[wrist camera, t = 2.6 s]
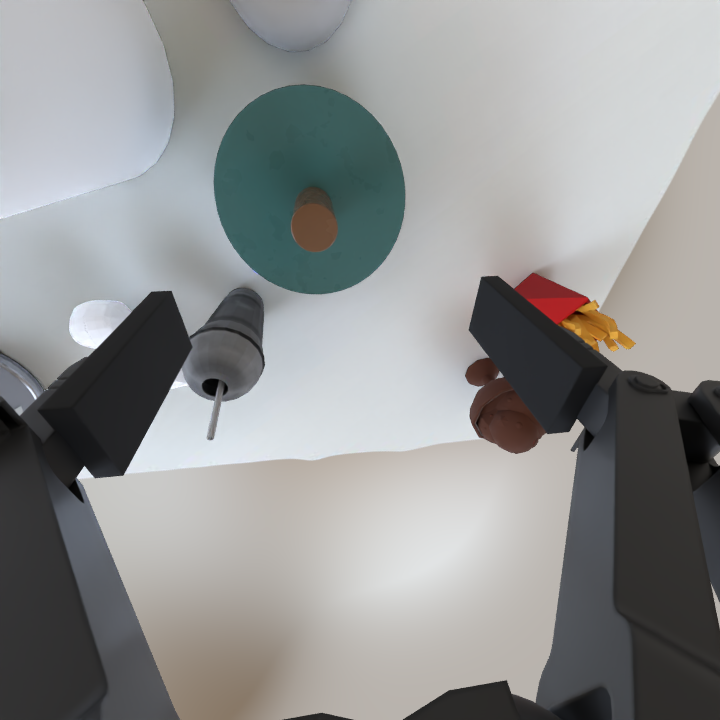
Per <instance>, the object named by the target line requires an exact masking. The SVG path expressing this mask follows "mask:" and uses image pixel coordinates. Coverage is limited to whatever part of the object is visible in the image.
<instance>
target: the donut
mask: <svg viewBox="0 0 720 720" xmlns="http://www.w3.org/2000/svg"><path fill="white" fill-rule="evenodd" d="M230 1H231V3H232V5H233V6H234V8H235V9H236V11H237V12H238V13H239V15H240V16H241V18H242V19H243V20H244V22H245V23H246V25H247V26H248V27H249V29H251V30H252V31H253V32H254V33H256V34H257V35H258V36H259V37H260V38H262V39H263V40H264V41H265V42H266V43H268V44H269V45H272V46H275V47H277V48H280V49H283V50H285V51H288V52H293V51H309V50H311V49H313V48H315V47H317V46H318V45H320V44H322V43H324V42H326V41H327V40H328V39H329V38H330V37H331V35H332V34H333V33H334V32H335V31H336V30H337V28H338V27H339V26H340V25H341V23H342V21H343V19H344V16H345V14H346V12H347V10H348V7H349V5H350V3H351V0H230Z"/></svg>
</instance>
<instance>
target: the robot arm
mask: <svg viewBox="0 0 720 720" xmlns="http://www.w3.org/2000/svg"><path fill="white" fill-rule="evenodd" d="M469 331H470V332H471V334H472V335H473V336H474V338H475V339H476V340H477V342H478V343H479V344H480V346H481V347H482V348H483V350H484V351H485V352H486V354H487V355H488V356H489V358H490V359H491V360H492V361H493V363H494V364H495V365H496V367H497V368H498V369H499V371H500V372H501V373H502V375H503V376H504V377H505V379H506V380H507V381H508V383H509V384H510V385H511V387H512V388H513V389H514V390H515V392H516V393H517V394H518V396H519V397H520V398H521V400H522V401H523V402H524V404H525V405H526V406H527V408H528V409H529V410H530V412H531V413H532V414H533V415H534V417H535V418H536V419H537V421H538V422H539V423H540V425H541V426H542V427H543V429H544V430H545V431H546V433H547V434H552V433H563V432H569V431H570V430H571V428H572V426H573V425H574V423H575V421H576V419H578V420H579V421H580V422H581V423H582V424H583V426H584V429H583V431H582V432H581V434H580V436H579V437H578V439H577V440H576V442H575V443H574V445H573V447H572V449H571V451H573V452H574V451H575V450H576V448H578V454H577V462H576V469H575V476H574V484H573V491H572V500H571V507H570V515H569V522H568V530H567V538H566V545H565V553H564V561H563V568H562V575H561V583H560V591H559V598H558V606H557V614H556V622H555V629H554V637H553V644H552V649H551V653H550V656H549V659H548V661H547V663H546V666H545V668H544V670H543V672H542V675H541V679H540V682H539V687H538V692H537V697H536V703H534V702H533V701H530V700H528V699H525V698H522V697H520V696H517V695H513V694H511V691H510V688H509V686H508V683H507V681H500V682H494V683H489V684H484V685H477V686H472V687H466V688H460V689H455V690H449V691H447V692H446V693H444V694H443V695H441V696H439V697H438V698H436V699H435V700H433V701H432V702H430V703H429V704H427V705H425V706H424V707H422V708H420V709H419V710H417V711H416V712H414V713H413V714H411V715H410V716H408V717H406V718H405V719H403V720H720V628H719V623H718V618H717V613H716V608H715V603H714V598H713V593H712V588H711V584H712V586H713V588H714V591H715V593H716V595H717V597H718V599H719V602H720V466H718V464H717V463H716V461H715V460H714V458H713V457H714V456H716V455H717V454H718V453H719V452H720V381H711V380H707V381H703V382H701V383H700V384H699V386H698V387H697V388H696V389H695V390H694V392H693V393H688V392H679V391H672V390H671V389H670V387H669V386H667V385H666V384H665V383H664V382H663V381H661V380H659V379H657V378H655V377H653V376H651V375H648V374H645V373H642V372H637V371H622V370H620V369H619V368H618V367H617V366H616V365H614V364H613V363H612V362H611V361H609V360H608V359H607V358H606V357H604V356H603V355H602V354H600V353H599V352H598V351H597V350H593V347H592V346H590V345H589V344H588V343H585V341H584V340H583V339H582V338H580V337H579V336H578V335H577V334H575V333H574V332H572V331H570V330H567V329H565V328H563V327H561V326H558V325H557V324H556V323H555V322H553V321H552V320H551V319H550V318H549V317H547V316H546V315H545V314H544V313H542V312H541V311H540V310H539V309H538V308H536V307H535V306H534V305H533V304H531V303H530V302H529V301H528V300H527V299H525V298H524V297H523V296H522V295H520V294H519V293H518V292H517V291H516V290H514V289H513V288H512V287H511V286H509V285H508V284H507V283H506V282H505V281H503V280H502V279H501V278H500V277H498V276H487V277H481V281H480V285H479V289H478V293H477V297H476V301H475V306H474V310H473V314H472V318H471V322H470V326H469ZM192 348H193V347H192V344H191V341H190V339H189V336H188V333H187V331H186V328H185V326H184V323H183V320H182V318H181V315H180V312H179V310H178V307H177V304H176V302H175V299H174V296H173V294H172V291H156V292H151V293H150V294H149V295H148V296H147V297H146V298H145V299H144V300H143V301H142V302H141V303H140V304H139V305H138V306H137V307H136V308H135V309H134V310H133V311H132V312H131V313H130V314H129V315H128V316H127V318H126V319H125V320H124V321H123V322H122V323H121V324H120V325H119V326H118V327H117V328H116V329H115V330H114V331H113V332H112V333H111V334H110V335H109V336H108V337H107V338H106V339H105V340H104V341H103V342H102V343H101V344H100V345H99V346H98V348H97V349H96V350H95V351H94V352H93V353H92V354H91V355H90V356H89V357H84V358H83V359H81V360H80V361H78V362H76V363H75V364H73V365H71V366H70V367H68V368H67V369H66V370H65V371H64V372H63V373H62V374H61V375H60V376H59V377H58V378H57V379H58V380H55V381H54V382H53V383H52V384H51V385H50V386H49V387H48V390H45V391H43V389H42V387H41V385H40V384H39V383H38V381H37V380H36V379H35V378H34V377H33V376H32V375H31V374H30V373H29V372H28V371H27V370H26V369H25V368H23V367H22V366H21V365H19V364H18V363H16V362H15V361H13V360H12V359H10V358H8V357H7V356H5V355H3V354H1V353H0V720H180V718H179V717H178V715H177V713H176V711H175V709H174V707H173V704H172V702H171V699H170V697H169V694H168V692H167V690H166V687H165V685H164V682H163V680H162V677H161V675H160V672H159V670H158V668H157V665H156V663H155V660H154V658H153V655H152V653H151V651H150V648H149V646H148V643H147V641H146V638H145V636H144V633H143V631H142V629H141V626H140V624H139V621H138V619H137V616H136V614H135V611H134V609H133V607H132V604H131V602H130V600H129V597H128V594H127V592H126V589H125V587H124V585H123V582H122V580H121V577H120V575H119V572H118V570H117V568H116V565H115V563H114V560H113V558H112V555H111V553H110V550H109V548H108V546H107V543H106V541H105V538H104V536H103V533H102V531H101V529H100V526H99V524H98V521H97V519H96V516H95V514H94V511H93V509H92V506H91V504H90V502H89V499H88V497H87V494H86V492H85V489H84V487H83V485H82V484H81V483H80V481H78V479H77V478H76V477H77V476H78V474H79V473H80V471H81V470H82V468H83V467H84V466H85V467H86V468H87V469H88V471H89V472H90V473H91V474H92V475H93V476H94V478H102V477H113V476H123V475H124V473H125V472H126V470H127V468H128V466H129V464H130V462H131V460H132V459H133V457H134V455H135V453H136V451H137V449H138V447H139V446H140V444H141V442H142V440H143V438H144V436H145V435H146V433H147V431H148V429H149V427H150V425H151V423H152V422H153V420H154V418H155V416H156V414H157V412H158V410H159V409H160V407H161V405H162V403H163V401H164V399H165V398H166V396H167V394H168V392H169V390H170V388H171V386H172V385H173V383H174V381H175V379H176V377H177V375H178V373H179V372H180V370H181V368H182V366H183V364H184V362H185V360H186V359H187V357H188V355H189V353H190V351H191V349H192ZM284 720H352V719H348V718H343V717H338V716H334V715H329V714H325V713H319V714H312V715H307V716H301V717H296V718H290V719H284Z"/></svg>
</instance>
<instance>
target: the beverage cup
mask: <svg viewBox="0 0 720 720" xmlns="http://www.w3.org/2000/svg"><path fill="white" fill-rule="evenodd" d="M263 323H264V304H263V301H262V299H261V298H260V296H259V295H258V294H257V293H255V292H254V291H252V290H249V289H246V288H239V289H235V290H233V291H231V292H230V293H229V294H228V296H226V297H225V298H224V300H223V301H222V302H221V304H220V305H219V306H218V308H217V309H216V310H215V312H214V313H213V314H212V316H211V317H210V318H209V320H208V321H207V322H206V324H205V325H204V326H203V327H201V328H200V329H199V330H198V331H197V332H195V334H193V335H191V336H190V337H189V339H190V341H191V344H192V347H193V348H192V349H191V351H190V353H189V355H188V357H187V359H186V360H185V362H184V364H183V366H182V372H183V375H184V379H185V381H186V382H187V384H188V385H189V387H190V388H191V389H192V390H193V391H194V392H195V393H197V394H198V395H199V396H201V397H204V398H206V399H208V400H213V401H214V406H213V411H212V415H211V420H210V425H209V429H208V434H207V440H213V439H214V436H215V431H216V426H217V421H218V416H219V411H220V406H221V401H229V400H234V399H237V398H239V397H241V396H243V395H244V394H246V393H248V392H249V391H250V390H251V389H252V387H253V386H254V385H255V384H256V383H257V381H258V380H259V377H260V376H261V374H262V372H263V369H264V366H265V362H264V355H263V349H262V338H263Z"/></svg>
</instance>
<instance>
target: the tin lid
mask: <svg viewBox="0 0 720 720" xmlns="http://www.w3.org/2000/svg"><path fill="white" fill-rule="evenodd" d="M214 195H215V201H216V207H217V211H218V215H219V218H220V221H221V224H222V226H223V229H224V231H225V233H226V235H227V237H228V239H229V241H230V242H231V244H232V246H233V247H234V249H235V250H236V251H237V253H238V254H239V255H240V257H241V258H242V259H243V260H244V261H245V262H246V263H247V264H248V265H249V266H250V267H251V268H252V269H253V270H254V271H255V272H257V273H258V274H259V275H261V276H262V277H264V278H265V279H267V280H268V281H270V282H272V283H274V284H276V285H277V286H280V287H282V288H285V289H288V290H291V291H295V292H299V293H306V294H327V293H333V292H337V291H341V290H344V289H347V288H349V287H352V286H354V285H356V284H357V283H359V282H361V281H362V280H364V279H365V278H367V277H368V276H370V275H371V274H372V273H373V272H374V271H375V270H376V269H377V268H378V267H379V266H380V265H381V264H382V263H383V261H384V260H385V259H386V257H387V256H388V254H389V253H390V252H391V250H392V248H393V246H394V244H395V242H396V240H397V237H398V235H399V232H400V229H401V225H402V221H403V217H404V210H405V184H404V176H403V172H402V167H401V163H400V161H399V158H398V155H397V152H396V150H395V148H394V146H393V144H392V142H391V140H390V138H389V136H388V135H387V133H386V132H385V130H384V129H383V127H382V126H381V125H380V123H379V122H378V121H377V120H376V119H375V118H374V117H373V115H372V114H371V113H369V112H368V111H367V110H366V109H365V108H364V107H363V106H361V105H360V104H359V103H357V102H356V101H354V100H353V99H351V98H349V97H348V96H346V95H344V94H341V93H339V92H337V91H335V90H332V89H328V88H324V87H321V86H314V85H292V86H286V87H282V88H278V89H274V90H272V91H270V92H268V93H266V94H263V95H261V96H260V97H258V98H257V99H255V100H254V101H252V102H251V103H249V104H248V105H247V106H246V107H245V108H244V109H243V110H242V111H241V112H240V113H239V114H238V115H237V116H236V118H235V119H234V121H233V122H232V123H231V125H230V126H229V128H228V130H227V132H226V133H225V135H224V137H223V139H222V142H221V145H220V148H219V150H218V153H217V158H216V163H215V170H214Z"/></svg>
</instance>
